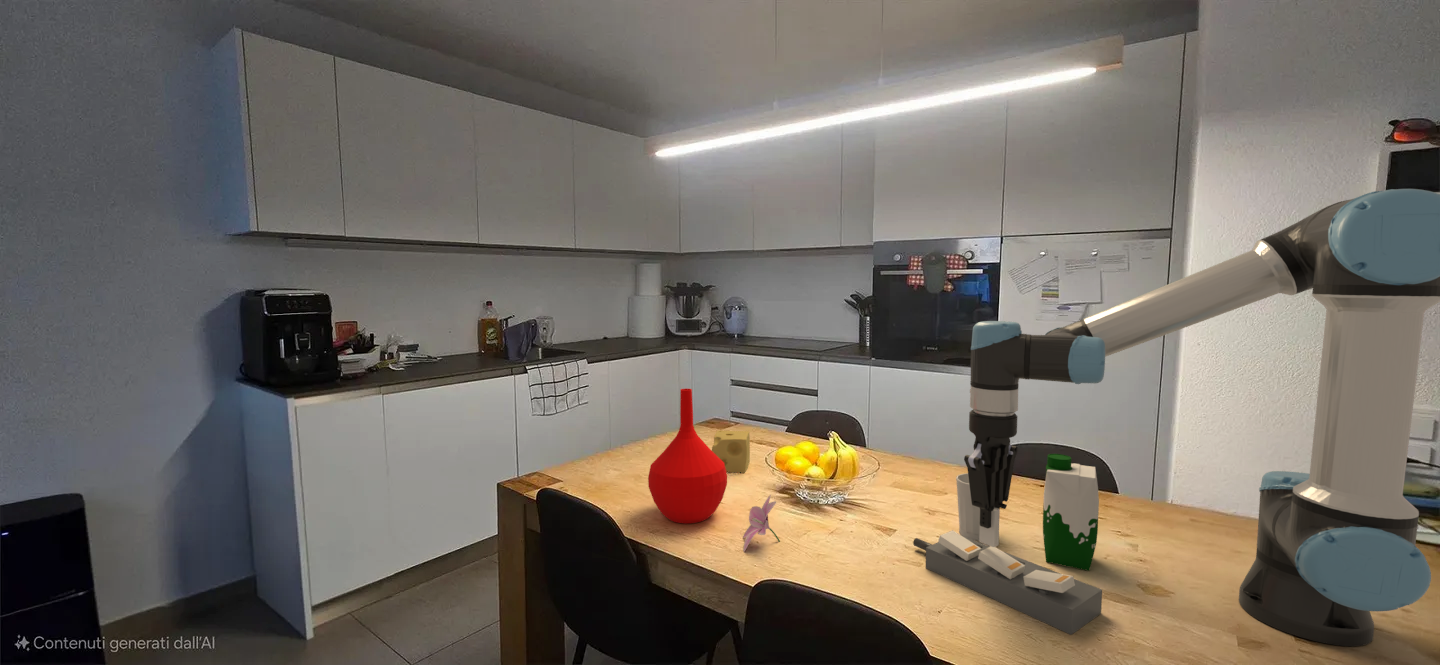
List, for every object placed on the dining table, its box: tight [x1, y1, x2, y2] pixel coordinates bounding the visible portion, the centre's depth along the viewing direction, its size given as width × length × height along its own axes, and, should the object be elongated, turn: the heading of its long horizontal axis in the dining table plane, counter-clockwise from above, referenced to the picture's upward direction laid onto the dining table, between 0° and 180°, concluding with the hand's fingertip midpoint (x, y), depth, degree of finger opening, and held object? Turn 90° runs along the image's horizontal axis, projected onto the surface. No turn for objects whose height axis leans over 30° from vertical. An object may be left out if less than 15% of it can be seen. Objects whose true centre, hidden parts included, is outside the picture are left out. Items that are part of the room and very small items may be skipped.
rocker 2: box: [978, 546, 1025, 579], centre depth 102 cm, size 6×4×2 cm, turn 35°
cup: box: [955, 472, 980, 542], centre depth 125 cm, size 8×8×12 cm
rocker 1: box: [937, 529, 981, 561], centre depth 108 cm, size 6×4×2 cm, turn 35°
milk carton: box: [1042, 453, 1100, 572], centre depth 113 cm, size 9×9×20 cm
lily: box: [742, 494, 781, 552], centre depth 122 cm, size 12×12×10 cm
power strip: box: [912, 535, 1103, 636], centre depth 105 cm, size 32×10×4 cm, turn 35°
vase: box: [647, 388, 728, 524], centre depth 136 cm, size 18×18×30 cm
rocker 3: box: [1023, 570, 1075, 593], centre depth 95 cm, size 6×4×2 cm, turn 34°
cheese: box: [711, 429, 751, 474], centre depth 172 cm, size 10×11×10 cm
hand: (988, 543), depth 103 cm, fingers closed
